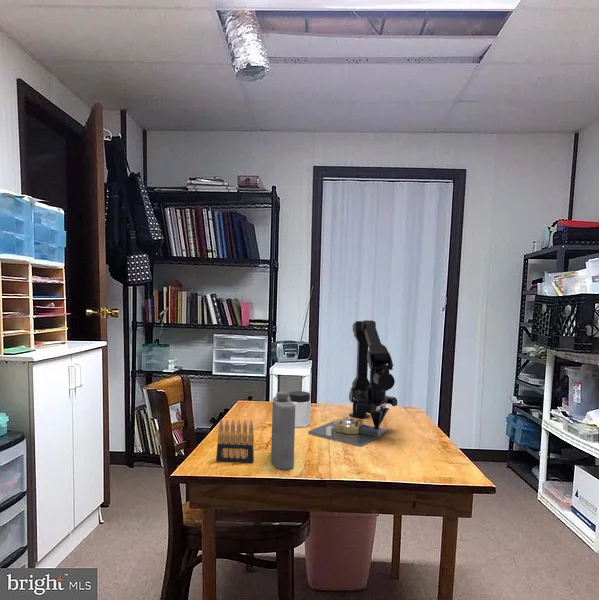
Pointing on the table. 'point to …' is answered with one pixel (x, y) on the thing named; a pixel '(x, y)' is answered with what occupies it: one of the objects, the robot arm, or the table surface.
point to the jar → (301, 407)
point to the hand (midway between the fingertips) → (376, 428)
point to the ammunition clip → (236, 450)
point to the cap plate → (353, 439)
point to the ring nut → (356, 428)
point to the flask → (283, 431)
